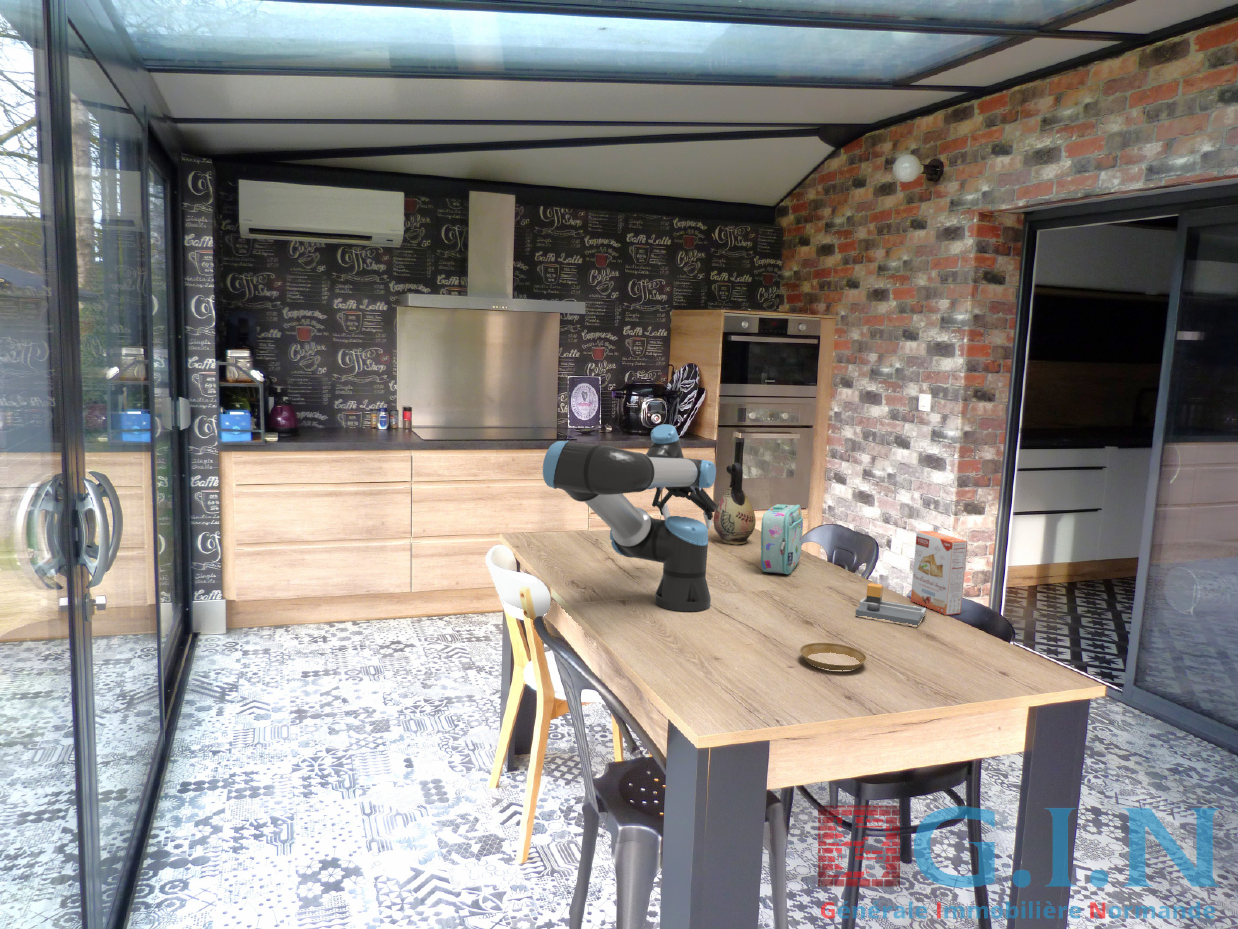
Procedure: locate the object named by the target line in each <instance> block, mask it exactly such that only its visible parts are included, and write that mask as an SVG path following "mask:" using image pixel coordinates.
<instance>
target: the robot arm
mask: <svg viewBox="0 0 1238 929" xmlns="http://www.w3.org/2000/svg"><path fill="white" fill-rule="evenodd" d="M650 440H651V442H652V443H651V445H650V446H649V448H648V450H647V452H646V453H643V452H637V451H636V452H635V451H632V450H631V451H630V450H627V449H622V448H620V447H614V446H610V445H604V444H603V445H601V444H593V443H592V444H591V443H583V442H574V441H570V440H557V441H555V442H554V443H552V444H550V446H549V447H548V449H547V451H546V453H545V455H544V458H543V464H542V478H543V480H544V483H545V485H547V487H549V488H552V489H555V490H557V489H558V490H563V491H564V492H565V493H566V494H567V495H569V497H570V498H572V499H573V500H574V501H577V502H580V503H581V502H582V503H585V504H586V505H587V506H588V507H589V508H590V509H591V510H592V511H593V512H594V513H595V514H596V515H597V516H598V517H599V518H600V519H601V521H602V522H604V523H605V525H607V526H608V527H609V529H610V532H609V538H610V539H609V540H611V542H610V544H611V547H612V548H613V550H614V551H615V552H616V553H617V554H618V555H620V556H624V557H626V558H629V559H630V558H631V559H632V558H636V559H638V560H639V559H640V560H645V561H651V562H656V563H662V565H663V568H662V575H661V576H662V577H661V579H660V581H659V585H658V587H657V589H656V591H655V594H654V596H655V597H654V603H655V604H656V605H657V606H659V608H663V609H666V610H669V611H670V610H671V611H676V612H698V611H699V612H701V611H705V610H707V609H710V607H711V603H712V602H711V600H712V599H711V593H710V590H709V586H708V581H707V578H706V576H707V574H706V573H707V561H708V545H709V530H710V529H711V527H712V525H713V520H712V519H713V517H714V513H715V510H716V507H717V505H718V504H716V502H715V501H714V500H713V499H712V497H710V495H709V494H708V493H707V491H705V489H710V488H711V487H712V486H714V484H715V480H716V476H717V467H716V465H715V463H714V462H713V461H711V460H705V459H699V458H688V457H687V458H686V457H684V454H683V450H682V445H681V440H680V437H679V435H678V432H677V429H676V427H675V426H673V425H671V424H665V423H664V424H663V423H662V424H660V425H657V426H655V427H654V428H653V429H652V430H651V432H650ZM655 488H656V491H655V494H654V497H653V500H652V503H651V506H652V507H653V508H655V507H657V508H658V509H659V513H660V515H661V516H663V519H660V518H654V517H652V516H651V515H650V514H649V513H648V512H647V511H646V510H644V508H641V507H637V506H634V505H633V503H632V502H630V500H629V499H628V498H627V497H626V496H625V494H631V493H633V494H634V493H642V492H644V491H646V490H652V489H655ZM664 488H665V490H667V491H668V492H667V493H666V494H665V495H664V497H663V498H662V499H661V500H660V497H661V494H662V491H663V490H664ZM673 496H674V497H675V498H679V497H680V498H683V499H684V498H686V499H687V500H688V501H691V502H692V503H693V504H694V505H696V506H697V507H699V509H700V510H702V511H703V518H704V522H705V523H704V522H702V521H701V520H698V519H695V518H691V517H687V516H681V515H671V512H670V510H669V506H668V503H667V502H668V501H669V499H671V498H672V497H673ZM704 609H705V610H704Z"/></svg>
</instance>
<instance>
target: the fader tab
mask: <svg viewBox="0 0 1238 929" xmlns="http://www.w3.org/2000/svg"><path fill="white" fill-rule="evenodd" d="M883 591H884V585H883V584H877V583H874V582H873V583H872V582H869V583H868V584H867V586H866V602H868V603H870V602H873V603H878V604H880V605H881V603H882V601H883Z"/></svg>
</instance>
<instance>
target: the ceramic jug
mask: <svg viewBox="0 0 1238 929" xmlns="http://www.w3.org/2000/svg"><path fill="white" fill-rule="evenodd" d="M725 469H726V473H728V475H730V483H729V486H728V488H727V489H726V491H725V492H724V494H723V495H722V496H721V498H720V500H719V501H718V503H717V504H716V505H717V506H716V508H715V510H714V512H713V517H712V519H713V520H712V524H713V527H714V530H715V533H717V535H718V536H719V538H720V539H721V542H722V543H723V544H729V545H735V546H737V545H743V544H747V543H748V538H749V537H751V536H752V535H753V532H754V530H755V528H756V515H755V510H754V506H753V505H752V503H751V502H750V500H749V498H748V496H747V495H746V492H745V491H744V490H743V478H744V477H743V473H744V472H743V467H742V465H741V463H740V462H734V463H732V465H727V467H726V468H725Z"/></svg>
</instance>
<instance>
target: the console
mask: <svg viewBox="0 0 1238 929" xmlns="http://www.w3.org/2000/svg"><path fill="white" fill-rule="evenodd" d="M866 598H867V597H866ZM866 598H865V597H863V598H862V599H860V600H859V604H858V605H859V606H858V607H857V608H856V609H855V615H857V616H867V617H872V618H877V619H885V620H890V621H893V622H899V623H908V624H912V625H917V626H918V624H919V623H920V621H921V619H922V618H923V616H924V615H925V613H926V614H927V609H928V608H926V607H924V606H917V605H911V604H905V603H900V602H899V603H898V602H894V601H889V600H888V601H887V600H882V603H881V605H880V604H878V603H873V602H870V603H868V602H866ZM920 624H921V623H920ZM918 627H919V626H918Z"/></svg>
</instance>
